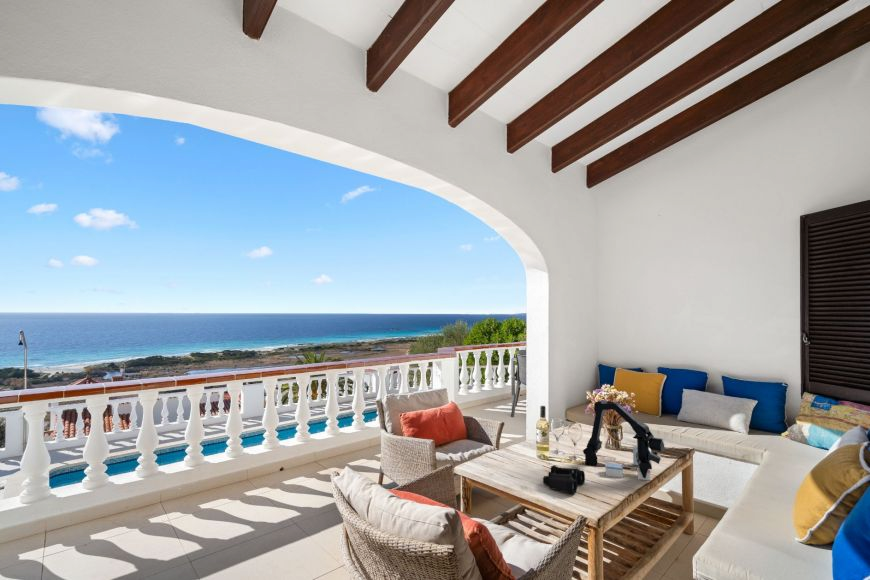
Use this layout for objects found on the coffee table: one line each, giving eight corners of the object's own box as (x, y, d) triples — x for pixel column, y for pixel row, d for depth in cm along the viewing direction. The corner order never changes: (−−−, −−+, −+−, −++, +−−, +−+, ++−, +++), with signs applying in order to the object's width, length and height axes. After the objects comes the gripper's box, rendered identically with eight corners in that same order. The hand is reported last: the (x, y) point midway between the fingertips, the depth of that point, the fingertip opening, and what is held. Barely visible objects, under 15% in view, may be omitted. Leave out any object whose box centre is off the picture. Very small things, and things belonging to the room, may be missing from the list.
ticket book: (605, 475, 231) (605, 466, 232) (605, 471, 237) (605, 462, 237) (624, 477, 228) (624, 468, 228) (624, 473, 234) (623, 464, 234)
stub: (638, 479, 226) (638, 469, 226) (637, 475, 231) (637, 466, 231) (650, 480, 224) (650, 470, 224) (649, 477, 228) (649, 467, 229)
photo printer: (653, 467, 242) (652, 446, 243) (650, 469, 239) (649, 448, 240) (635, 463, 250) (634, 442, 250) (632, 464, 247) (631, 444, 247)
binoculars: (572, 497, 205) (572, 477, 205) (538, 487, 217) (537, 468, 217) (588, 483, 222) (587, 464, 222) (555, 474, 233) (554, 457, 234)
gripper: (661, 454, 216) (663, 484, 216) (656, 444, 234) (657, 471, 233) (638, 452, 220) (639, 481, 220) (635, 442, 238) (636, 469, 237)
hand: (643, 476), depth 227 cm, fingers closed on stub, 5 cm apart
